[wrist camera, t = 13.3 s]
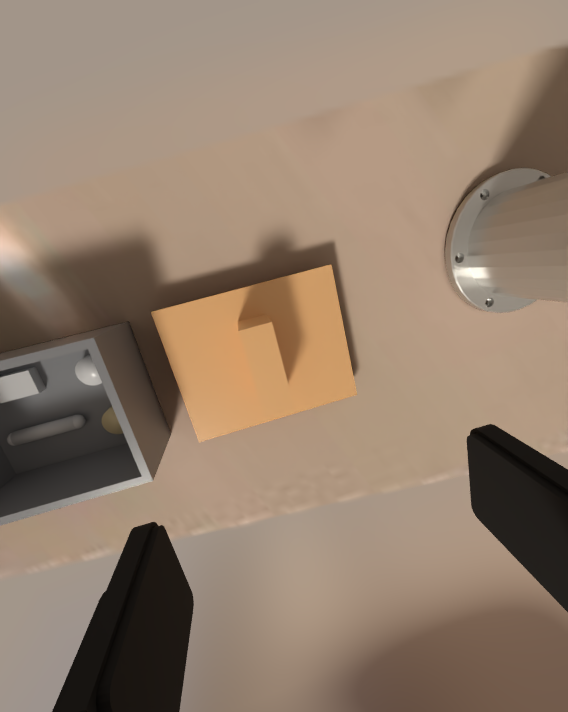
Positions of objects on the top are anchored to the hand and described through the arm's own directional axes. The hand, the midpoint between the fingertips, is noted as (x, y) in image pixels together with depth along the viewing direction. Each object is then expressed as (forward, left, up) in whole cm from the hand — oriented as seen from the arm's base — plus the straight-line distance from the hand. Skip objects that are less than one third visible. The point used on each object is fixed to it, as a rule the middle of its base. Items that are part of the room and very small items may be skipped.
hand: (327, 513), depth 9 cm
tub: (+17, 0, -21) cm, 27 cm away
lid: (0, 0, -21) cm, 21 cm away
